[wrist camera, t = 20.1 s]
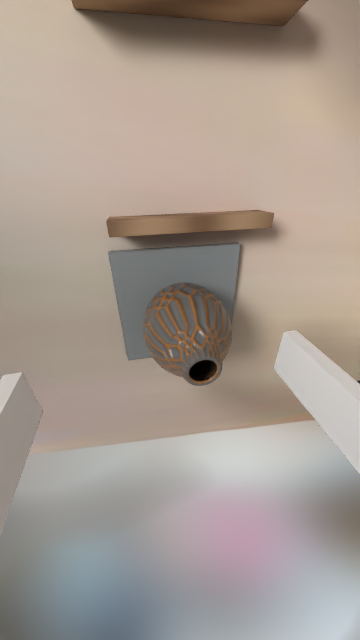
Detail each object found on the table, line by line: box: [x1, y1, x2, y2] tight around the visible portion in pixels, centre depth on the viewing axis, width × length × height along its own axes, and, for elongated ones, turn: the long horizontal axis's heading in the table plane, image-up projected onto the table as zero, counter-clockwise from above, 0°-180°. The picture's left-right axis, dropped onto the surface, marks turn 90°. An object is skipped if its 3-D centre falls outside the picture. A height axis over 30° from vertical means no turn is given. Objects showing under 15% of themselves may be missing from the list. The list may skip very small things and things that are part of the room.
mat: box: [108, 242, 240, 360], centre depth 21 cm, size 11×11×1 cm
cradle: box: [72, 0, 308, 237], centre depth 14 cm, size 12×12×2 cm
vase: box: [143, 282, 232, 386], centre depth 17 cm, size 7×7×9 cm
